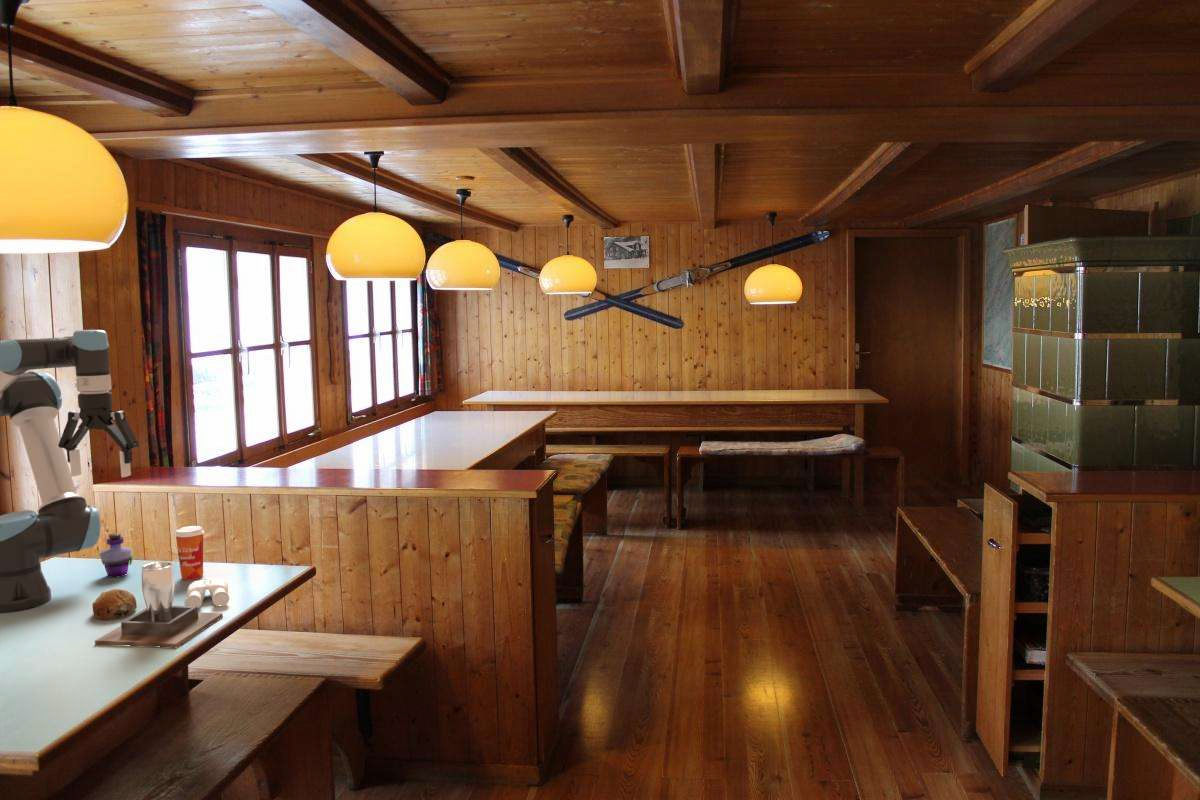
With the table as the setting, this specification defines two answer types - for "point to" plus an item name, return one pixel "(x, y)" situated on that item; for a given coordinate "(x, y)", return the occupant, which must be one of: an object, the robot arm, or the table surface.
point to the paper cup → (190, 551)
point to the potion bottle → (116, 556)
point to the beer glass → (158, 590)
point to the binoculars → (215, 587)
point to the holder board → (160, 628)
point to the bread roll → (114, 604)
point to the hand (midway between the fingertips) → (101, 475)
